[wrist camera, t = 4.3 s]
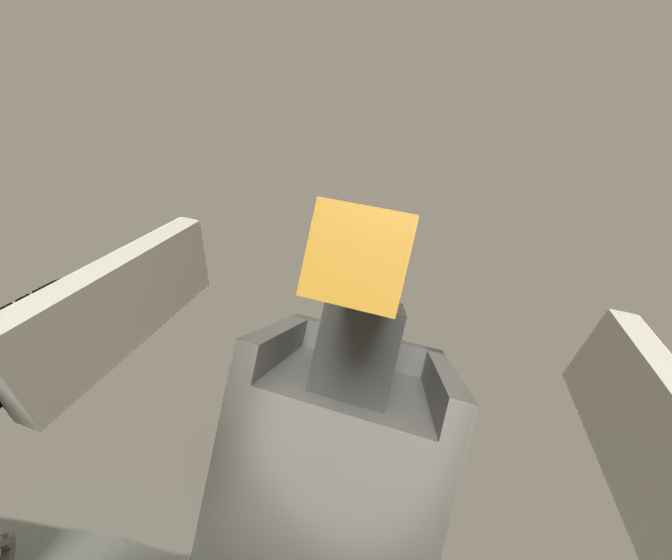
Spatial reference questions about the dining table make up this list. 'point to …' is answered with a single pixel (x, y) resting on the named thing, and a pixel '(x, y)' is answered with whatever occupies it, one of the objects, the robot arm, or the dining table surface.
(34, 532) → the dining table surface
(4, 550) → the mug
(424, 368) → the grey tall block
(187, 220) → the robot arm
